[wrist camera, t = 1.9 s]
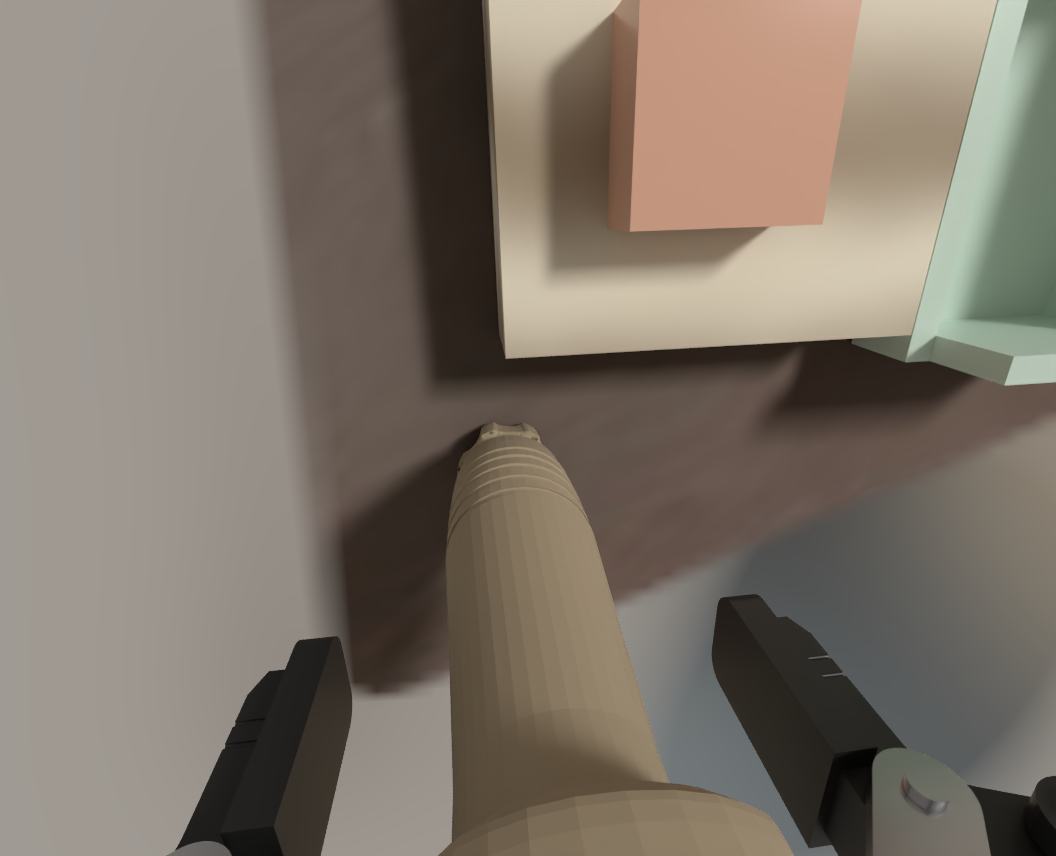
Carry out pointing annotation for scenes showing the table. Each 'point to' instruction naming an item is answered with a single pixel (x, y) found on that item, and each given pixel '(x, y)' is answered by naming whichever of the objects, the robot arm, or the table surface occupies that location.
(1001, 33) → the box
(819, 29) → the tile
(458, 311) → the table surface
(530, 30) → the cream flat slab
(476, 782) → the handle
